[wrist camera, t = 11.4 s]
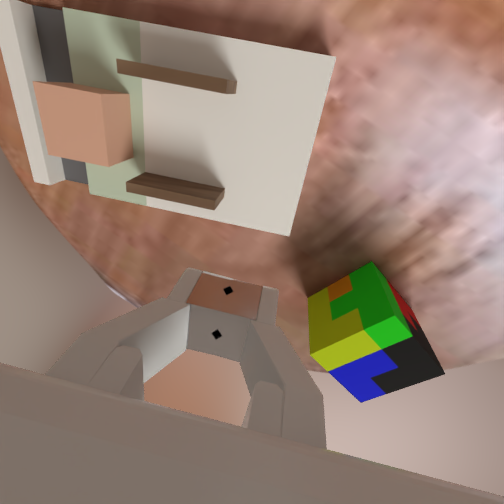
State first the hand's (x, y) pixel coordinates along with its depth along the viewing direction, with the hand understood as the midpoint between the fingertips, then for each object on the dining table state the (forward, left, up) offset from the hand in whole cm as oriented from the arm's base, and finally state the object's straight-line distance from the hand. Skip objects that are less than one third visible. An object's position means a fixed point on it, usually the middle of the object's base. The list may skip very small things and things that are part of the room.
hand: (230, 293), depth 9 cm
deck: (0, -12, -25) cm, 28 cm away
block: (0, -18, -22) cm, 28 cm away
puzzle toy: (+18, +15, -25) cm, 34 cm away
